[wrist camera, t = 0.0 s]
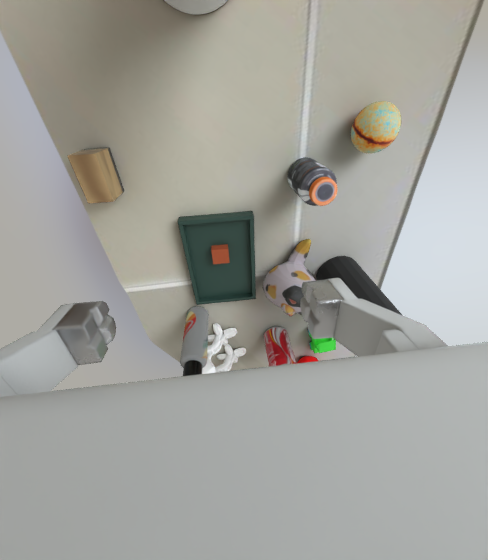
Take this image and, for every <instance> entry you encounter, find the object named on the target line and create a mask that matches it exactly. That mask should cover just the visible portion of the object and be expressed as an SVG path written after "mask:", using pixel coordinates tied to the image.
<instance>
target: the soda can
mask: <svg viewBox="0 0 488 560" xmlns="http://www.w3.org/2000/svg"><path fill="white" fill-rule="evenodd" d="M264 342H265V347H266V352H267V357H268V362H269V367H270V366H279V365H288V364H297V363H296V360H295V356H294V353H293V350H292V346H291V343H290V340H289V337H288V333H287V331H286V330H285V329H284V328H282V327H279V326H275V327H271V328H269V329H268V330H267V331H266V332H265V333H264Z"/></svg>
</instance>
